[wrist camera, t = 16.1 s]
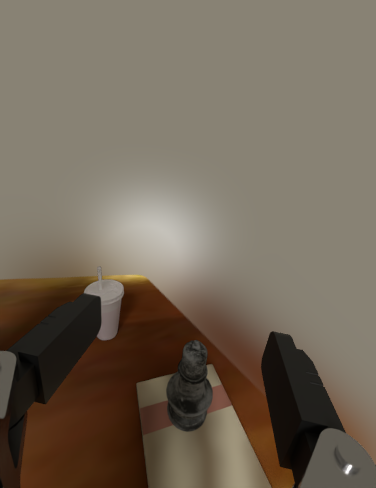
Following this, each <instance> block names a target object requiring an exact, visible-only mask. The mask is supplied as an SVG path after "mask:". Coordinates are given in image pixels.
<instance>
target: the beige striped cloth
mask: <svg viewBox="0 0 376 488" xmlns="http://www.w3.org/2000/svg"><path fill="white" fill-rule="evenodd" d="M206 366H207V369H208V374H207V377H206V378H207V379H208V380H209V382H210V384H211V386H212V390H213V399H212V402H211V405H210V406H209V408H208V410H207V415H206V419H205V421H204V423H203V424H202V426H200V427H199V428H198V429H196V430H194V431H189V432H186V431H182V430H180V429H178V428H176V427H175V426H174V425H173V424H172V422H171V421H170V419H169V416H168V413H167V405H168V399H167V393H166V389H167V384H168V382H169V380H170V378H171V377H172V376H173V375H174V374H175V373H174V374H170V375H166V376H162V377H158V378H154V379H151V380H147V381H143V382H139V383H137V397H138V405H139V413H140V421H141V430H142V438H143V446H144V455H145V463H146V471H147V480H148V488H271V486H270V484H269V481H268V479H267V477H266V475H265V473H264V471H263V469H262V467H261V465H260V463H259V461H258V459H257V457H256V454H255V452H254V450H253V448H252V446H251V444H250V442H249V440H248V438H247V436H246V434H245V432H244V429H243V427H242V425H241V423H240V421H239V419H238V417H237V415H236V413H235V411H234V409H233V407H232V404H231V402H230V400H229V398H228V396H227V394H226V392H225V390H224V388H223V385H222V384H221V382H220V379H219V377H218V375H217V373H216V371H215V369H214V367H213V365H212V364H210V365H206Z"/></svg>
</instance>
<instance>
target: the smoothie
mask: <svg viewBox="0 0 376 488" xmlns="http://www.w3.org/2000/svg"><path fill="white" fill-rule="evenodd" d="M97 269H98V281H96V282H94V283H92V284H90V285H89V286H87V287H86V289H85V291H84V293H86V294H91V295H96V296H100V298H101V319H102V322H101V328H100V331H99V333H98V335H97V337H98V338H99V339H101V340H109V339H112V338H113V337H115V336H116V334H117V332H118V324H119V315H120V307H121V299H122V297H123V295H124V288H123V285H122V284H121V283H120V282H118V281H115V280H102V275H101V267H100V266H99V267H98V268H97Z"/></svg>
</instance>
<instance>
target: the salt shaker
mask: <svg viewBox="0 0 376 488" xmlns="http://www.w3.org/2000/svg"><path fill="white" fill-rule="evenodd" d="M206 361H207V349H206V347H205V346H204V345H203V344H202V343H201V342H199V341H198V340H195V341H190V342H188V343H187V344H186V345H185V346H184V349H183V355H182V360H181V361H180V362H179V364H178V372H176V373H175V374H174V375H173V376H172V377H171V378H170V380H169V382H168V384H167V389H166V393H167V399H168V405H167V413H168V416H169V419H170V421H171V422H172V424H173V425H174V426H175V427H176V428H178V429H180V430H182V431H186V432H189V431H194V430H196V429H198V428H199V427H200V426H202V424H203V423H204V421H205V419H206V415H207V410H208V408H209V406H210V405H211V402H212V399H213V390H212V386H211V384H210V382H209V380H208V379H207V378H206V377H207V374H208V369H207V366H206Z"/></svg>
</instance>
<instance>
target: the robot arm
mask: <svg viewBox="0 0 376 488" xmlns="http://www.w3.org/2000/svg"><path fill="white" fill-rule="evenodd" d="M101 322H102V319H101V298H100V296H96V295H91V294H86V293H83V294H82V295H80V296H79V297H78V298H77V299H76V300H75V301H74V302H68V303H66V304H64V305H62V306H60V307H58V308H56V309H55V310H54V311H53V312H52V313H51V314H49V315H48V317H46V318H45V319H43V320H42V321H41V323H40V324H38V325H36V326H35V327H34V328H33V329H32V330H30V331H29V332H28V333H27V334H26V335H25V336H23V337H22V338H21V339H20V340H19V341H18V342H16V343H15V344H14V345H13V346H12V347H10V348H9V349H8V350H7V351H0V488H20V474H21V465H22V456H23V448H24V440H25V431H26V423H27V410H28V409H29V407H30V406H31V405H32V404H33V402H38V403H42V404H46V403H47V402H48V400H49V399H50V398H51V396H52V395H53V394H54V392H55V391H56V390H57V388H58V387H59V386H60V384H61V383H62V382H63V380H64V379H65V378H66V376H67V375H68V374H69V372H70V371H71V370H72V368H73V367H74V366H75V364H76V363H77V362H78V360H79V359H80V358H81V356H82V355H83V354H84V352H85V351H86V350H87V348H88V347H89V346H90V344H91V343H92V342H93V340H94V339H95V338H96V336H97V335H98V333H99V331H100V328H101ZM261 369H262V375H263V381H264V386H265V392H266V397H267V402H268V407H269V412H270V417H271V423H272V428H273V433H274V438H275V443H276V448H277V453H278V459H279V464H280V467H284V468H288V469H291V470H292V472H293V476H294V481H295V483H294V485H293V486H292V488H376V465H375V464H374V462H373V460H372V458H371V457H370V456H369V454H368V453H367V452H366V450H365V449H364V448H363V447H362V446H361V445H360V444H359V443H358V442H357V441H356V440H355V439H353V438H352V437H351V436H349V435H348V434H346V432H345V430H344V428H343V426H342V423H341V421H340V419H339V417H338V415H337V413H336V411H335V409H334V406H333V404H332V402H331V400H330V398H329V396H328V394H327V391H326V389H325V387H323V383H322V381H321V379H320V377H319V376H318V372H317V370H316V368H315V366H314V364H313V362H312V361H311V359H310V358H309V357H308V356H307V355H306V354H305V352H304V351H303V350H299V349H296V347H295V344H294V342H293V339H292V337H291V336H290V335H288V334H283V333H277V332H271V333H270V335H269V338H268V341H267V344H266V347H265V351H264V354H263V357H262V364H261Z"/></svg>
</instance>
